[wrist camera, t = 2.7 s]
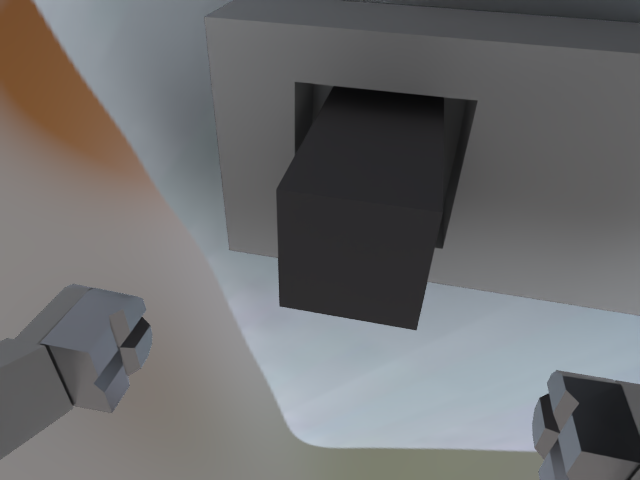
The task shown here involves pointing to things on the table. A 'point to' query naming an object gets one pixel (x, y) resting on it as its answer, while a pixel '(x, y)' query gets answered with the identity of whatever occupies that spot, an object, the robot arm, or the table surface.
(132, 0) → the table surface
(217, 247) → the table surface
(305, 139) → the dark rectangular block
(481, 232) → the grey board with holes
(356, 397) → the table surface
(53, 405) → the robot arm
